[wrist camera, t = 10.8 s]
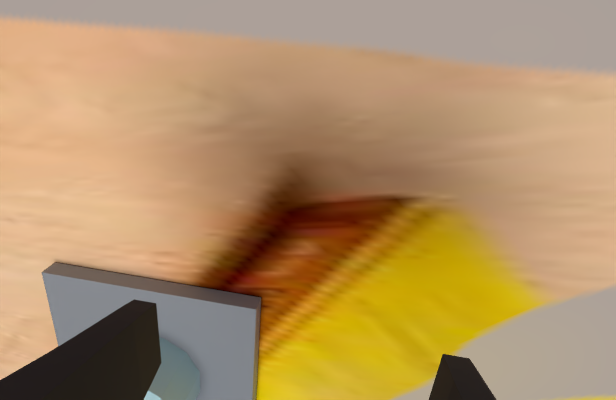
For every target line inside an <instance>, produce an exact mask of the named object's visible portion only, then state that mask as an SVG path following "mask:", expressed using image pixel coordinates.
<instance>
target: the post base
mask: <svg viewBox="0 0 616 400" xmlns="http://www.w3.org/2000/svg"><path fill="white" fill-rule="evenodd" d="M42 276H43V280H44V284H45V289H46V293H47V298H48V302H49V306H50V311H51V315H52V320H53V324H54V328H55V333H56V337H57V341H58V346H60V345H62V344H63V343H65V342H66V341H68V340H70V339H71V338H73V337H75V336H76V335H78V334H79V333H81V332H83V331H84V330H86V329H87V328H89V327H90V326H92V325H94V324H95V323H97V322H98V321H100V320H102V319H103V318H105V317H106V316H108V315H109V314H111V313H113V312H114V311H116V310H117V309H119V308H121V307H122V306H124V305H125V304H127V303H129V302H130V301H132V300H134V299H135V300H140V301H146V302H152V303H156V306H157V317H158V329H159V338H164V339H166V340H167V341H169V342H170V343H172V344H173V345H175V346H177V347H178V348H180V349H181V350H183V351H185V352H186V353H187V354H188V356H189V357H190V358H191V360H192V361H193V363H194V364H195V366H196V367H197V369H198V370H199V372H200V392H199V394H198V396H197V398H196V400H256V392H257V372H258V352H259V332H260V311H261V297H255V296H249V295H243V294H237V293H232V292H226V291H220V290H214V289H208V288H202V287H196V286H191V285H185V284H179V283H173V282H167V281H161V280H155V279H149V278H144V277H138V276H132V275H126V274H120V273H114V272H108V271H103V270H97V269H91V268H85V267H79V266H73V265H67V264H61V263H56V262H55V263H54V264H52V265H51V266H50V267H48V268H47V269H46V270H44V271H43V272H42Z"/></svg>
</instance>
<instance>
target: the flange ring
mask: <svg viewBox="0 0 616 400" xmlns="http://www.w3.org/2000/svg"><path fill="white" fill-rule="evenodd" d="M159 340H160V351H161V365H160V367H159V369H158V371H157V373H156V375H155V377H154V380H153V382H152V384H151V386H150V388H149V390H148V392H147V394H146V396H145V398H144V400H196V398H197V396H198V394H199V392H200V372H199V370H198V369H197V367H196V366H195V364H194V363H193V361H192V360H191V358H190V357H189V356H188V354H187V353H186V352H185V351H183V350H181V349H180V348H178V347H177V346H175V345H173V344H172V343H170V342H169V341H167V340H166V339H164V338H159Z"/></svg>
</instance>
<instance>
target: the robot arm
mask: <svg viewBox="0 0 616 400" xmlns="http://www.w3.org/2000/svg"><path fill="white" fill-rule="evenodd" d="M160 365H161V351H160V340H159V329H158V317H157V306H156V303H152V302H146V301H140V300H135V299H134V300H132V301H130V302H129V303H127V304H125V305H124V306H122V307H121V308H119V309H117V310H116V311H114V312H113V313H111V314H109V315H108V316H106V317H105V318H103V319H102V320H100V321H98V322H97V323H95V324H94V325H92V326H90V327H89V328H87V329H86V330H84V331H83V332H81V333H79V334H78V335H76V336H75V337H73V338H71V339H70V340H68V341H66V342H65V343H63V344H62V345H60V346H58V347H57V348H55V349H54V350H52V351H50V352H49V353H47V354H45V355H43V356H42V357H40V358H38V359H37V360H35V361H33V362H31V363H30V364H28V365H26V366H24V367H23V368H21V369H19V370H17V371H16V372H14V373H12V374H10V375H9V376H7V377H5V378H3V379H2V380H0V400H144V398H145V396H146V394H147V392H148V390H149V388H150V386H151V384H152V382H153V380H154V377H155V375H156V373H157V371H158V369H159V367H160ZM429 400H496V398H495V397H494V395H493V394H492V392H491V391H490V389H489V388H488V386H487V385H486V383H485V381H484V380H483V378H482V377H481V375H480V374H479V372H478V371H477V369H476V368H475V366H474V365H473V363H472V362H471V360H470V359H469V358H463V357H457V356H452V355H446V354H443V355H442V359H441V362H440V365H439V368H438V371H437V375H436V378H435V381H434V384H433V388H432V391H431V394H430V397H429Z"/></svg>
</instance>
